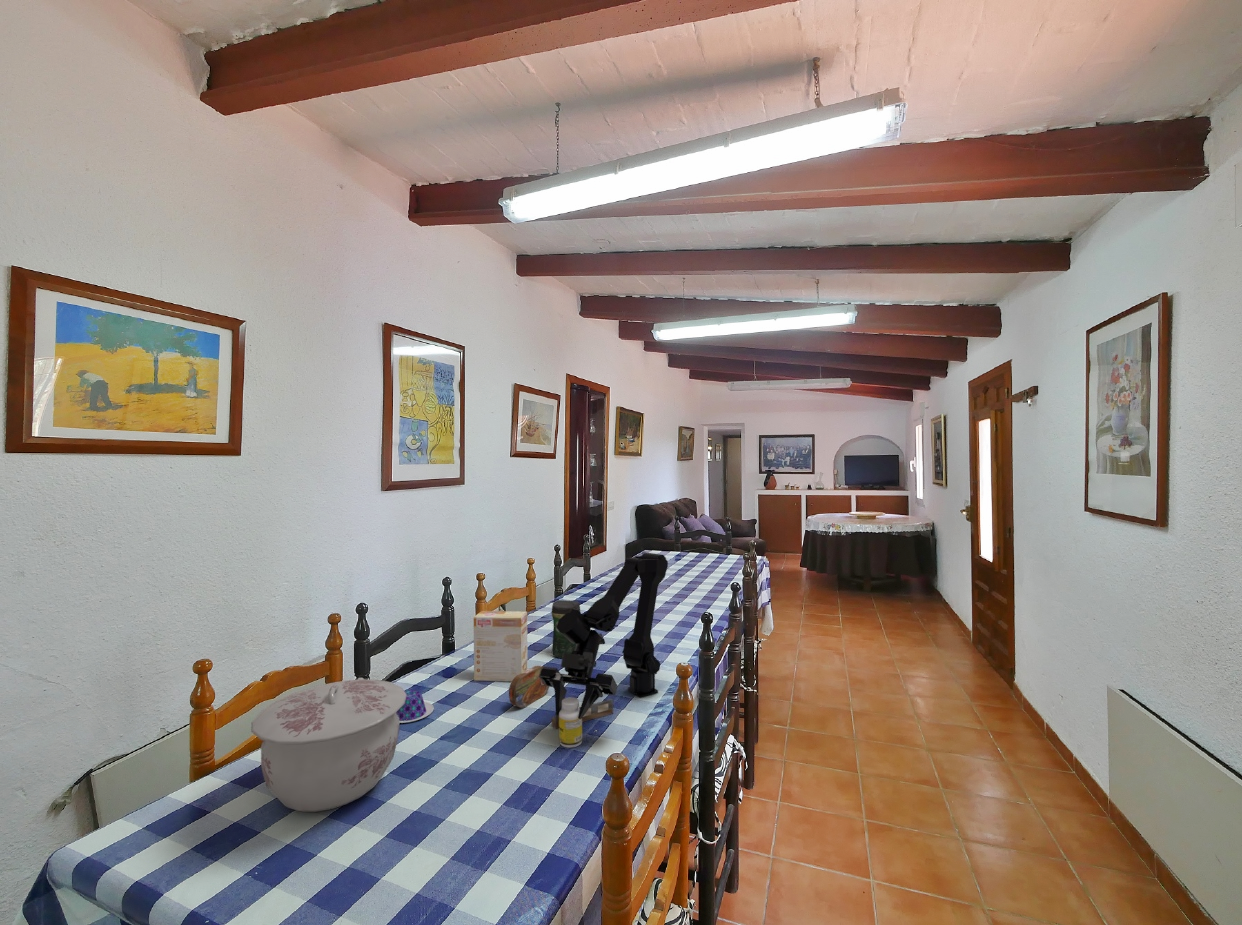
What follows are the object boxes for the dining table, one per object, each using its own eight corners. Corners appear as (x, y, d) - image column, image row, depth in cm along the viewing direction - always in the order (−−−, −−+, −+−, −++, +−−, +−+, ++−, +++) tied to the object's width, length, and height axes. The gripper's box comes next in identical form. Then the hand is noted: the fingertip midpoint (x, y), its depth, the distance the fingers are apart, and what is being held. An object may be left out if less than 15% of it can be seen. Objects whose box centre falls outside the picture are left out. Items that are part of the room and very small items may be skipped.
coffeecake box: (528, 673, 166) (527, 610, 166) (521, 682, 159) (521, 617, 159) (481, 671, 167) (481, 609, 167) (473, 680, 160) (472, 616, 160)
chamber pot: (298, 858, 88) (297, 734, 88) (223, 803, 103) (223, 696, 103) (437, 774, 112) (436, 676, 112) (360, 739, 126) (360, 652, 126)
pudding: (378, 713, 140) (378, 694, 140) (423, 700, 148) (423, 681, 148) (394, 730, 131) (394, 709, 131) (441, 714, 139) (441, 694, 139)
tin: (515, 713, 139) (515, 680, 139) (506, 710, 141) (506, 678, 141) (551, 691, 152) (551, 662, 152) (543, 689, 154) (542, 660, 154)
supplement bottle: (559, 736, 127) (559, 695, 127) (582, 735, 127) (582, 695, 127) (558, 749, 121) (558, 706, 122) (582, 747, 122) (582, 705, 122)
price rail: (607, 708, 141) (607, 695, 141) (613, 713, 138) (613, 699, 138) (551, 723, 133) (551, 709, 133) (556, 729, 130) (556, 714, 130)
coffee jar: (583, 652, 184) (583, 598, 184) (575, 660, 176) (575, 604, 176) (558, 649, 187) (557, 597, 187) (548, 657, 179) (548, 602, 179)
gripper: (541, 633, 131) (520, 697, 121) (613, 641, 125) (596, 708, 115) (555, 654, 139) (536, 716, 128) (623, 662, 133) (609, 727, 122)
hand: (568, 716), depth 123 cm, fingers closed on supplement bottle, 5 cm apart
